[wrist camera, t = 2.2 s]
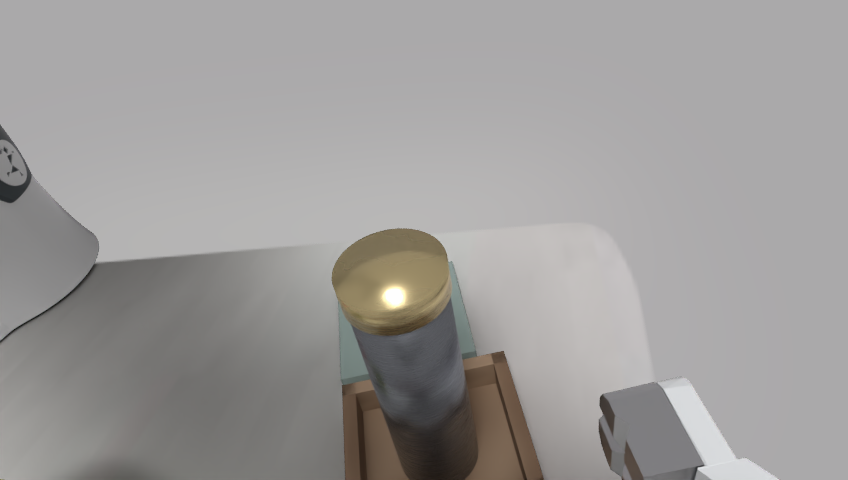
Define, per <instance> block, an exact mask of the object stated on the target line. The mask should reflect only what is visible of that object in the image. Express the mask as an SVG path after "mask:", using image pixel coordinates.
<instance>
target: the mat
mask: <svg viewBox="0 0 848 480" xmlns="http://www.w3.org/2000/svg"><path fill="white" fill-rule="evenodd" d="M448 264H449V270H450V275H451V281H452V293H451V301H452V306H453V311H454V317H455V322H456V328H457V333H458V339H459V344H460V350H461V355H462V360H463V359H467V358H472V357H477V355H476V350H475V346H474V342H473V338H472V335H471V331H470V327H469V323H468V320H467V316H466V312H465V309H464V305H463V301H462V297H461V294H460V290H459V286H458V282H457V279H456V275H455V271H454V267H453V264H452V261H451V262H448ZM338 307H339V337H340V367H341V381H342V383H343V385H346V384H351V383H355V382H360V381H365V380H369V379H370V377H369V374H368V371H367V368H366V365H365V363H364V360H363V357H362V354H361V351H360V349H359V346H358V343H357V340H356V337H355V335H354V332H353V329H352V326H351V324H350V323H349V322H348V320H347V319H346V318H345V316H344V314H343V312H342V309H341V306H340V304H339V301H338Z"/></svg>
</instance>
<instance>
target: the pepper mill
mask: <svg viewBox="0 0 848 480" xmlns="http://www.w3.org/2000/svg"><path fill="white" fill-rule="evenodd" d="M332 284H333V287H334V290H335V293H336V295H337V298H338V301H339V304H340V306H341V309H342V312H343V314H344V316H345V318H346V319H347V320H348V322H349V323H350V324H351V326H352V329H353V332H354V335H355V337H356V340H357V343H358V346H359V349H360V351H361V354H362V357H363V360H364V363H365V365H366V368H367V371H368V374H369V377H370V379H371V382H372V385H373V388H374V391H375V393H376V396H377V399H378V402H379V405H380V407H381V410H382V413H383V416H384V419H385V421H386V424H387V427H388V430H389V433H390V435H391V438H392V441H393V444H394V447H395V449H396V452H397V455H398V458H399V461H400V463H401V466H402V469H403V471H404V473H405V474H406V476H407V477H408V478H409V479H410V480H465V479H466V478H467V477H468V476H469V475H470V473H471V472H472V471H473V469H474V467H475V465H476V462H477V459H478V442H477V437H476V431H475V426H474V420H473V415H472V410H471V404H470V399H469V393H468V388H467V382H466V377H465V371H464V366H463V360H462V355H461V350H460V344H459V339H458V333H457V328H456V322H455V317H454V311H453V306H452V301H451V293H452V281H451V275H450V270H449V264H448V259H447V254H446V251H445V249H444V247H443V245H442V244H441V243H440V242H439V241H438V240H437V239H436V238H435V237H433V236H431V235H430V234H427V233H425V232H422V231H419V230H413V229H389V230H384V231H380V232H376V233H373V234H370V235H368V236H366V237H364V238H362V239H360V240H358V241H357V242H355V243H354V244H352V245H351V246H350V247H348V248H347V249H346V250H345V251H344V252H343V253H342V254H341V256H340V257H339V258H338V260H337V262H336V263H335V266H334V268H333V272H332Z"/></svg>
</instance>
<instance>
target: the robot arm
mask: <svg viewBox="0 0 848 480" xmlns="http://www.w3.org/2000/svg"><path fill="white" fill-rule="evenodd" d="M98 251H99V243H98V240H97V238H96V236H95V235H94V234H93V233H92V232H90V231H89V230H87V229H86V228H85V227H84V226H82V225H81V224H80V223H79V222H77V221H76V220H75V219H74V218H73V217H71V215H69V214H68V213H67V212H66V211H65V210H64V209H63V208H62V207H61V206H60V205H59V204H58V203H57V202H56V201H55V200H54V199H53V198H52V197H51V196H50V195H49V194H48V193H47V192H46V190H45V189H44V188H43V187H42V186H41V185H40V184H39V183H38V181H37V180H36V179H35V178H34V177H33V175H32V174H31V172H30V170H29V168H28V166H27V164H26V162H25V160H24V159H23V157H22V155H21V153H20V152H19V150H18V148H17V147H16V146H15V144H14V143H13V141H12V140H11V139H10V137H9V136H8V135H7V133H6V132H5V130H4V129H3V128H2V127H1V125H0V340H1V339H3V338H4V337H5V336H6V335H7V334H8V333H10V332H11V331H12V330H13V329H15V328H16V327H18V326H20V325H21V324H23V323H25V322H26V321H28V320H30V319H32V318H33V317H35V316H37V315H39V314H40V313H42V312H44V311H45V310H47V309H48V308H50V307H51V306H53V305H54V304H56V303H57V302H58V301H60V300H61V299H62V298H63V297H65V296H66V295H67V294H68V293H69V292H71V291H72V290H73V289H74V288H75V287H76V286H77V285H78V284H79V283H80V282H81V281H82V280H83V278H84V277H85V276H86V275H87V274H88V272H89V271H90V269H91V268H92V266H93V265H94V263H95V261H96V258H97V255H98ZM600 408H601V410H602V412H603V416H602V417H601V418H600V419H599V434H600V439H601V444H602V447H603V450H604V453H605V456H606V459H607V461H608V464H609V466H610V469H611V470H612V471H614V472H615V473H616V474H618V475H619V476H620V477H622V480H780V479H778V478H777V477H775V476H774V475H772V474H771V473H769V472H768V471H766V470H765V469H763V468H762V467H760V466H758V465H757V464H755V463H753V462H752V461H751V460H749V459H748V458H746V457H745V458H739V459H737V457H736V456H735V454H734V452H733V451H732V449H731V448H730V446H729V444H728V443H727V441H726V439H725V438H724V436H723V434H722V433H721V431H720V430H719V428H718V426H717V425H716V423H715V421H714V420H713V418H712V417H711V415H710V413H709V412H708V410H707V409H706V407H705V405H704V404H703V402H702V400H701V399H700V398H699V395H698V394H697V392H696V391H695V389H694V387H693V386H692V384H691V382H689V381H688V380H687V379H686V378H684V377H678V378H673V379H669V380H664V381H660V382H655V383H654V382H652V383H648V384H644V385H640V386H636V387H631V388H627V389H623V390H619V391H614V392H610V393H606V394H602V396H601V397H600Z"/></svg>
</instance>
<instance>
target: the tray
mask: <svg viewBox="0 0 848 480" xmlns="http://www.w3.org/2000/svg"><path fill="white" fill-rule="evenodd" d="M463 366H464V371H465V377H466V382H467V388H468V393H469V399H470V404H471V410H472V415H473V420H474V426H475V431H476V437H477V442H478V459H477V462H476V465H475V467H474V469H473V471H472V472H471V473H470V475H469V476H468V477H467V478H466V479H465V480H544V478H543V475H542V472H541V468H540V465H539V462H538V459H537V456H536V453H535V449H534V446H533V443H532V440H531V437H530V433H529V430H528V427H527V424H526V421H525V418H524V414H523V411H522V408H521V405H520V402H519V399H518V395H517V392H516V389H515V386H514V383H513V379H512V376H511V373H510V370H509V367H508V364H507V360H506V357H505V354H504V351H501V352H496V353H492V354H487V355H482V356H478V357H473V358H468V359H463ZM342 396H343V425H344V453H345V480H410V479H409V478H408V477H407V476H406V474H405V473H404V471H403V469H402V466H401V463H400V461H399V458H398V455H397V452H396V449H395V447H394V444H393V441H392V438H391V435H390V433H389V430H388V427H387V424H386V421H385V419H384V416H383V413H382V410H381V407H380V405H379V402H378V399H377V396H376V393H375V391H374V388H373V385H372V382H371V379H370V380H365V381H361V382H356V383H351V384H347V385H342Z"/></svg>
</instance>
